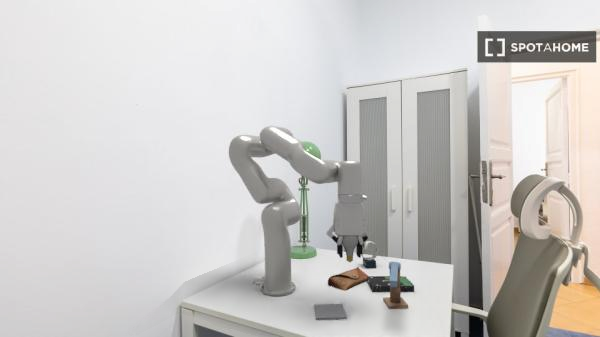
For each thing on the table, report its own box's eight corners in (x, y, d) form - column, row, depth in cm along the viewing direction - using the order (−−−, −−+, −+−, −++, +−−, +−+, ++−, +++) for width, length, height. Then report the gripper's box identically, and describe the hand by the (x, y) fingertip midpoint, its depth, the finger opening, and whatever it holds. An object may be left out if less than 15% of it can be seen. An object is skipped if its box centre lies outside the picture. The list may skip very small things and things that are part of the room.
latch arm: (400, 287, 84) (400, 281, 84) (386, 286, 85) (386, 280, 85) (400, 267, 101) (400, 262, 101) (389, 266, 102) (389, 261, 102)
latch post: (389, 308, 97) (388, 272, 97) (383, 300, 103) (382, 266, 103) (408, 308, 97) (407, 272, 97) (401, 300, 103) (400, 266, 103)
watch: (358, 264, 141) (358, 240, 140) (376, 264, 141) (375, 239, 141) (361, 268, 135) (361, 243, 135) (380, 268, 135) (379, 242, 135)
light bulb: (356, 259, 103) (356, 228, 102) (360, 264, 97) (360, 232, 97) (339, 259, 102) (339, 229, 102) (342, 264, 97) (342, 232, 97)
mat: (316, 319, 91) (316, 318, 91) (314, 306, 100) (314, 304, 100) (347, 318, 91) (347, 317, 91) (342, 305, 100) (342, 303, 100)
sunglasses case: (345, 291, 111) (337, 273, 113) (332, 296, 115) (325, 278, 118) (374, 278, 123) (367, 262, 125) (362, 283, 127) (355, 267, 130)
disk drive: (372, 294, 110) (415, 293, 109) (372, 286, 110) (414, 285, 109) (366, 283, 120) (405, 282, 120) (366, 276, 120) (405, 275, 120)
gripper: (373, 198, 103) (373, 252, 104) (321, 198, 103) (321, 253, 103) (379, 200, 96) (379, 259, 96) (324, 201, 96) (324, 260, 96)
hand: (349, 255), depth 100 cm, fingers closed on light bulb, 5 cm apart
